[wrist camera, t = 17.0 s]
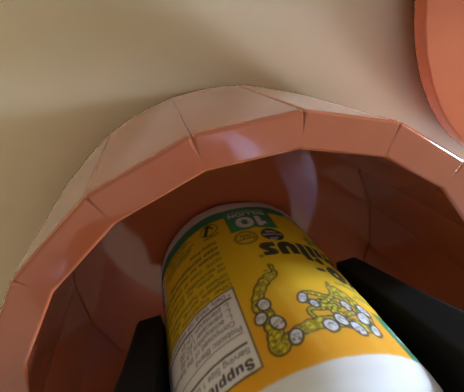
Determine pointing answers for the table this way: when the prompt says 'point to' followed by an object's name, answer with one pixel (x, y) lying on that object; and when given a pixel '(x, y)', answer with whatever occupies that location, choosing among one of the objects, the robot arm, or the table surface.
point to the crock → (214, 194)
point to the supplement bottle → (272, 313)
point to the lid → (442, 60)
